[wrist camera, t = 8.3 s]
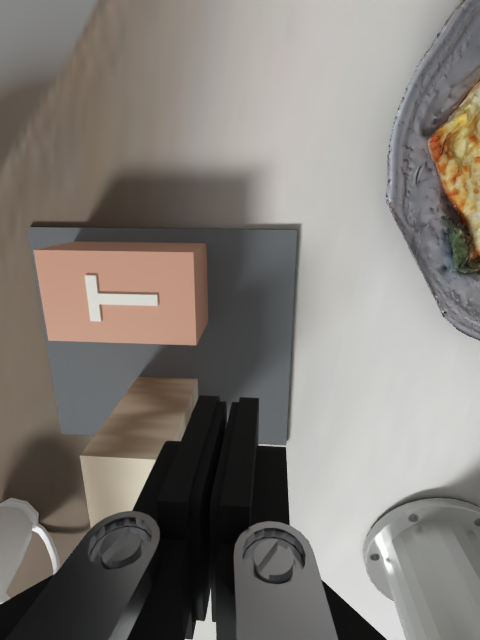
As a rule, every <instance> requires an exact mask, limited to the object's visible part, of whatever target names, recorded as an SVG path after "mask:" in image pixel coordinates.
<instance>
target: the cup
mask: <svg viewBox="0 0 480 640" xmlns="http://www.w3.org/2000/svg"><path fill="white" fill-rule="evenodd" d="M38 518H39V513H38V512H37V511H36V510H35V509H34V508H33V507H32V506H31V505H30V503H29V502H28V501H24V500H19V499H15V498H9V499H7V500H5V501H4V502H2V503H0V604H2V603H4V602H5V601H7V600H9V599H11V598H10V597H9V596H8V595H7V594H6V591H7V589H8V587H9V585H10V583H11V581H12V579H13V577H14V575H15V573H16V572H17V570H18V568H19V566H20V564H21V562H22V560H23V558H24V555H25V552H26V550H27V547H28V545H29V542H30V540H31V537H32V531H35V532H37V533H39V535H40V536H41V538H42V539H43V541H44V542H45V544H46V547H47V549H48V552H49V554H50V557H51V560H52V564H53V570H54V573H53V575H54V574H55V573H56V572H57V571H58V570H59V569H60V562H59V556H58V553H57V550H56V548H55V545H54V543H53V541H52V538H51V536H50V535H49V533H48V532H47V530H46V529H45V527H43V526H42V525H40V524H39V523H38Z"/></svg>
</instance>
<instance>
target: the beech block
mask: <svg viewBox="0 0 480 640" xmlns="http://www.w3.org/2000/svg"><path fill="white" fill-rule="evenodd" d="M197 400H198V379H186V378H160V377H138V378H137V379H136V380H135V382H134V383H133V384H132V386H131V387H130V388H129V390H128V391H127V392H126V394H125V395H124V397H123V398H122V399H121V401H120V402H119V403H118V405H117V406H116V407H115V409H114V410H113V411H112V413H111V414H110V415H109V417H108V418H107V420H106V421H105V422H104V424H103V425H102V426H101V428H100V429H99V430H98V432H97V433H96V434H95V436H94V437H93V438H92V440H91V441H90V442H89V444H88V445H87V447H86V448H85V449H84V451H83V452H82V453H81V455H80V460H81V467H82V473H83V480H84V486H85V493H86V499H87V506H88V512H89V519H90V525H91V528H92V527H93V526H94V525H95V524H97V523H98V522H100V521H101V520H103V519H104V518H106V517H108V516H111V515H113V514H116V513H119V512H125V511H132V510H133V508H134V506H135V503H136V501H137V499H138V497H139V495H140V493H141V491H142V489H143V487H144V484H145V482H146V480H147V478H148V476H149V474H150V472H151V470H152V468H153V466H154V463H155V461H156V459H157V457H158V455H159V453H160V451H161V449H162V447H163V445H164V443H165V442H166V441H181V439H182V437H183V434H184V432H185V430H186V427H187V425H188V422H189V420H190V417H191V415H192V412H193V410H194V407H195V405H196V402H197Z"/></svg>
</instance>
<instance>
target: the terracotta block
mask: <svg viewBox="0 0 480 640" xmlns="http://www.w3.org/2000/svg"><path fill="white" fill-rule="evenodd" d="M33 251H34V257H35V263H36V269H37V275H38V281H39V287H40V293H41V299H42V305H43V311H44V317H45V323H46V329H47V335H48V341H76V342H107V343H137V344H168V345H197V343H198V341H199V339H200V337H201V335H202V333H203V331H204V329H205V327H206V325H207V323H208V285H207V243H152V242H77V241H74V242H69V243H64V244H59V245H54V246H50V247H45V248H40V249H35V250H33Z"/></svg>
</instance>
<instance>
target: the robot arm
mask: <svg viewBox="0 0 480 640" xmlns="http://www.w3.org/2000/svg"><path fill="white" fill-rule="evenodd" d="M258 435H259V398H250V397H240V398H239V402H232V404H231V408H230V413H229V417H228V422H227V402H225V401H220V397H219V396H207V395H200V396H199V398H198V400H197V402H196V405H195V407H194V410H193V412H192V415H191V417H190V420H189V422H188V425H187V427H186V430H185V432H184V434H183V437H182V439H181V441H166V442H165V443H164V445H163V447H162V449H161V451H160V453H159V455H158V457H157V459H156V461H155V463H154V466H153V468H152V470H151V472H150V474H149V476H148V478H147V480H146V482H145V484H144V487H143V489H142V491H141V493H140V495H139V497H138V499H137V501H136V503H135V506H134V508H133V510H132V511H125V512H119V513H116V514H113V515H111V516H108V517H106V518H104V519H103V520H101V521H100V522H98V523H97V524H95V525H94V526H93V527H92V528H91V529H90V530H89V531H88V532H87V533H86V535H85V536H84V537H83V539H82V540H81V541H80V542H79V544H78V545H77V546H76V548H75V549H74V550H73V552H72V553H71V554H70V556H69V557H68V558H67V559H66V561H65V562H64V563H63V565H62V566H61V567H60V569H59V570H58V571H57V572H56V573H55V574H54V575H52V576H50V577H48V578H46V579H45V580H43V581H41V582H39V583H38V584H36V585H34V586H32V587H30V588H29V589H27V590H25V591H23V592H21V593H20V594H18V595H16V596H14V597H13V598H11V599H9V600H7V601H5V602H4V603H2V604H0V640H185V639H193V634H194V629H195V624H196V620H200V621H204V620H205V618H206V613H207V607H208V601H209V595H210V589H211V601H212V622H216V633H217V640H387V639H386V638H384V637H383V636H382V635H381V634H380V633H379V632H378V631H377V630H376V629H375V628H374V627H372V626H371V625H370V624H369V623H368V622H367V621H366V620H365V619H364V618H363V617H362V616H360V615H359V614H358V613H357V612H356V611H355V610H354V609H353V608H352V607H351V606H350V605H349V604H347V603H346V602H345V601H344V600H343V599H342V598H341V597H340V596H339V595H338V594H337V593H335V592H334V591H333V590H332V589H331V588H330V587H329V586H328V585H327V584H326V583H325V582H323V581H322V580H321V577H320V573H319V570H318V566H317V563H316V559H315V556H314V552H313V550H312V548H311V545H310V543H309V541H308V540H307V539H306V538H305V537H304V535H303V534H302V533H301V532H299V531H298V530H296V529H295V528H293V527H292V526H290V524H289V503H288V482H287V461H286V447H273V446H258ZM363 555H364V563H365V566H366V570H367V573H368V576H369V578H370V580H371V582H372V583H373V584H374V586H375V587H376V588H377V590H379V591H380V592H381V593H382V594H383V595H385V596H386V597H387V598H389V599H391V600H392V601H394V603H395V606H396V609H397V612H398V616H399V619H400V622H401V625H402V628H403V631H404V635H405V638H406V640H480V508H479V507H478V506H475V505H473V504H470V503H468V502H465V501H460V500H456V499H449V498H430V499H422V500H417V501H413V502H409V503H407V504H404V505H402V506H399V507H397V508H395V509H394V510H392V511H390V512H389V513H387V514H386V515H384V516H383V517H382V518H381V519H380V520H379V521H377V522H376V524H375V525H374V526H373V528H372V529H371V530H370V532H369V534H368V536H367V538H366V540H365V544H364V549H363Z"/></svg>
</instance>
